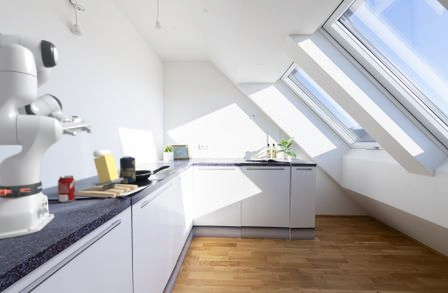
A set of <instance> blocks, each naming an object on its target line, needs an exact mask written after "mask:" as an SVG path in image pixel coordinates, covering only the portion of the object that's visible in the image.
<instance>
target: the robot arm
mask: <svg viewBox="0 0 448 293" xmlns="http://www.w3.org/2000/svg"><path fill="white" fill-rule="evenodd" d="M58 61H59V52H58V49H57V47H56V45H55V44H54V43H52V42H51V41H50V40H49V41H48V40H45V39H42V40H41V39H37V38H33V37H27V36H23V35H18V34H6V33H5V34H2V33H1V32H0V146H21V147H22V148H21V150H20V151H19V152H17V153H15V154H13V155H10V156H8V157H6V158H4V159H2V161H1V162H0V240H2V239H9V238H14V237H19V236H20V237H21V236H25V235H30V234H34V233H36V232H39V231H41V230H42V229H43V228H44V227H45V226H46V225H48V224H49V223H50V222H51V221H52V220H53V219H54V218H55V215H54V213H49V201H48V200H49V199H48V196H47V195H46V194H44V193H43V182H42V181H41V167H42V166H41V164H42V159H43V157H44V155H45V153H46V152H47V150H49V149H50V147H52V146H53V145H54V144H56V143H57V142H59V141H60V139H62V136H63V135H68V136H72V137H74V136H75V137H76V136H77V133H79V132H85V131H86V133H87V134H91V133H92V131H93V130H92V124H91V122H89V121H87V120H86V119H83V118H81V117H80V116H78V115H69V114H65V113H63V104H62V102H61V101H60V99H59V98H57V97H56V96H54V95H52V94H50V93H45V94H43V95H40V96H39V94H38V89H39V88H41V87H42V86H43V85H44V84H45V83H47V82H48V81H49V80H50V79H51V76H52V68H54V67H56V66H57V64H58ZM17 112H18V113H17Z"/></svg>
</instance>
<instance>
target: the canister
mask: <svg viewBox="0 0 448 293" xmlns="http://www.w3.org/2000/svg"><path fill="white" fill-rule="evenodd" d="M119 178H123V180H120V183H121V184H133V183H135V182H136V178H137V177H136V157H134V156H130V155H129V156H128V155H125V156H123V157H121V158H119Z"/></svg>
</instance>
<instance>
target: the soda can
mask: <svg viewBox="0 0 448 293" xmlns="http://www.w3.org/2000/svg"><path fill="white" fill-rule="evenodd" d="M57 189H58V190H57V191H58V193H57V195H58V202H59V203H65V204H66V203H71V202H73V201H75V200H76V179H75V178H74V175H61V176H59V179H57Z"/></svg>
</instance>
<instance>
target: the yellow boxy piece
mask: <svg viewBox="0 0 448 293" xmlns="http://www.w3.org/2000/svg"><path fill="white" fill-rule="evenodd" d="M92 155H93V157H94V158H93V161H94V164H95V169H96V173H97V177H98V180H97V183H98V184H97V183H96V184H95V186H96V187H98V186H102V185H105V184H111V183H115V182H119V181H120V180H123V178H120V175H119V173H118V169H117V164H116V161H115V157H114V155H113V154H112V150H111V149H100V150H94V151H93V154H92Z"/></svg>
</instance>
